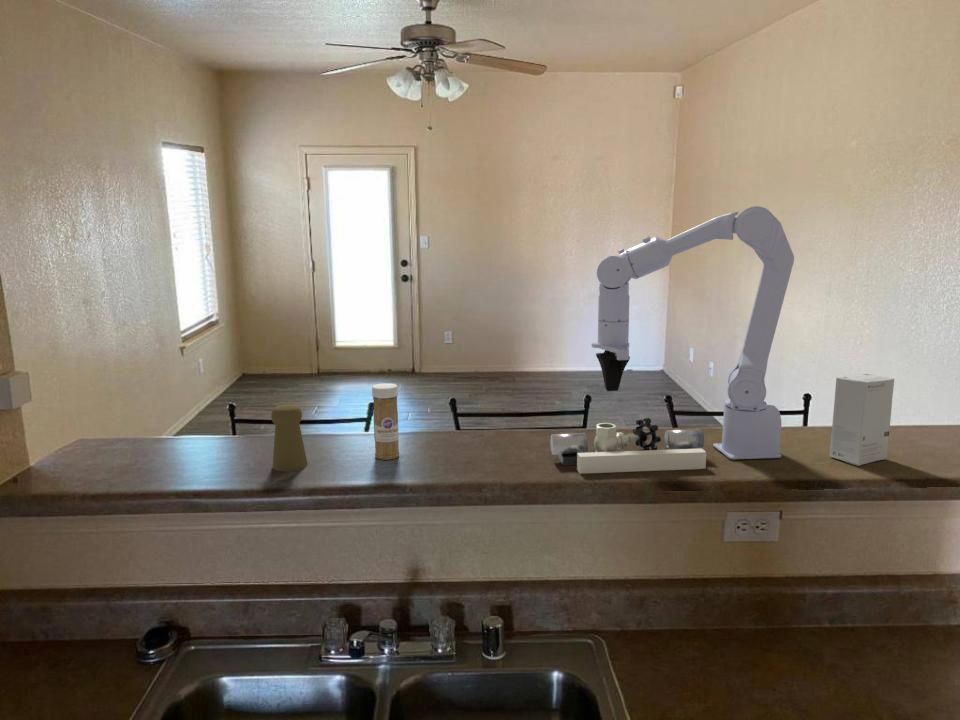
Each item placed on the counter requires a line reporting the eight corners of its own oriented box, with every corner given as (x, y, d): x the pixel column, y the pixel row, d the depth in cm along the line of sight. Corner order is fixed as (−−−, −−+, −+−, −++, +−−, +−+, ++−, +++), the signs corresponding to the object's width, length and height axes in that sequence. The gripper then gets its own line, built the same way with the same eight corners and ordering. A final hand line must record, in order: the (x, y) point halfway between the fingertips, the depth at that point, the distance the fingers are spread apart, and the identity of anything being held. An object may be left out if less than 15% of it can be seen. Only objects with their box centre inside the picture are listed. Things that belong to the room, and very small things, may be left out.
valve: (607, 468, 120) (660, 457, 126) (608, 432, 119) (661, 422, 125) (584, 457, 126) (636, 447, 132) (585, 422, 125) (637, 413, 130)
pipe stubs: (694, 452, 128) (696, 426, 127) (704, 460, 124) (705, 433, 123) (549, 457, 126) (550, 430, 125) (554, 465, 122) (554, 438, 121)
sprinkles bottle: (380, 462, 124) (377, 389, 122) (371, 455, 128) (367, 384, 126) (404, 457, 127) (401, 386, 124) (393, 451, 131) (391, 381, 128)
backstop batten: (700, 464, 121) (701, 448, 121) (705, 468, 119) (706, 452, 119) (576, 469, 120) (577, 452, 119) (579, 473, 118) (579, 456, 117)
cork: (313, 461, 125) (310, 402, 123) (296, 472, 120) (292, 411, 118) (284, 458, 127) (280, 400, 125) (265, 469, 121) (261, 409, 119)
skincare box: (858, 467, 120) (866, 383, 117) (827, 457, 125) (834, 376, 122) (888, 459, 123) (897, 377, 121) (856, 449, 129) (864, 371, 126)
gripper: (583, 315, 138) (582, 382, 141) (602, 326, 124) (600, 400, 126) (618, 314, 138) (617, 381, 141) (641, 325, 124) (638, 398, 127)
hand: (611, 390), depth 134 cm, fingers closed
